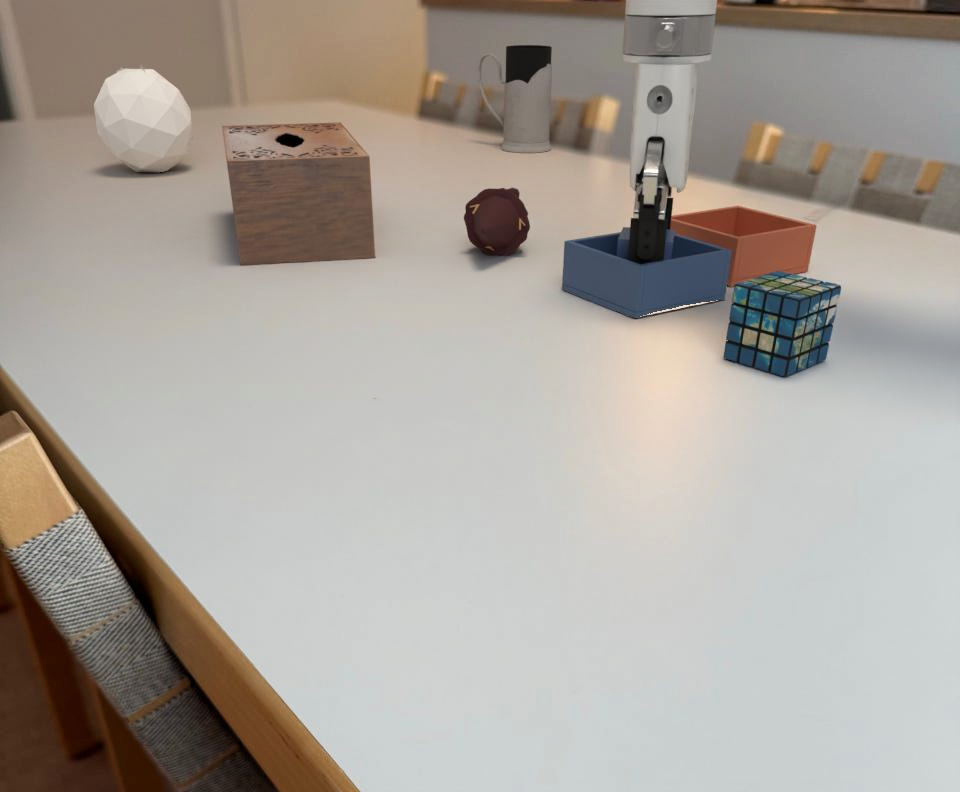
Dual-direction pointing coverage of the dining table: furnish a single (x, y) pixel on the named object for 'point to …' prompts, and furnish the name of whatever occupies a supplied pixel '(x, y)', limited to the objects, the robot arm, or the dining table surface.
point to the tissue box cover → (299, 193)
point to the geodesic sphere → (143, 120)
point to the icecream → (497, 221)
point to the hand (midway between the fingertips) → (649, 252)
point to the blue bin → (644, 275)
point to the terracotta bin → (751, 240)
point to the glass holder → (524, 98)
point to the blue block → (624, 243)
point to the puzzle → (781, 322)
